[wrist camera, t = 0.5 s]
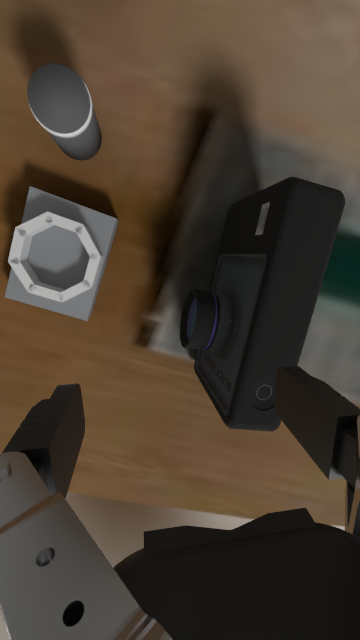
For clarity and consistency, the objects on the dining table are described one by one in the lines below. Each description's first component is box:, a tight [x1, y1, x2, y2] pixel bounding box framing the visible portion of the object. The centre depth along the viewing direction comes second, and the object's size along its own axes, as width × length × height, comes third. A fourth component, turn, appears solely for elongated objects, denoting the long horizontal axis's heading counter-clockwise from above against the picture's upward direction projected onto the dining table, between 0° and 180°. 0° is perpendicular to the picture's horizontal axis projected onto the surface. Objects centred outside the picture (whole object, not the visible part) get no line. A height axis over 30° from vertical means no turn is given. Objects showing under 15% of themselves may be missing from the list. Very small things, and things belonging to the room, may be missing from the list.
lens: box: [28, 63, 102, 160], centre depth 27 cm, size 5×5×8 cm
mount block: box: [5, 186, 119, 321], centre depth 31 cm, size 12×9×5 cm
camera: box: [180, 177, 345, 431], centre depth 30 cm, size 23×10×15 cm, turn 167°
